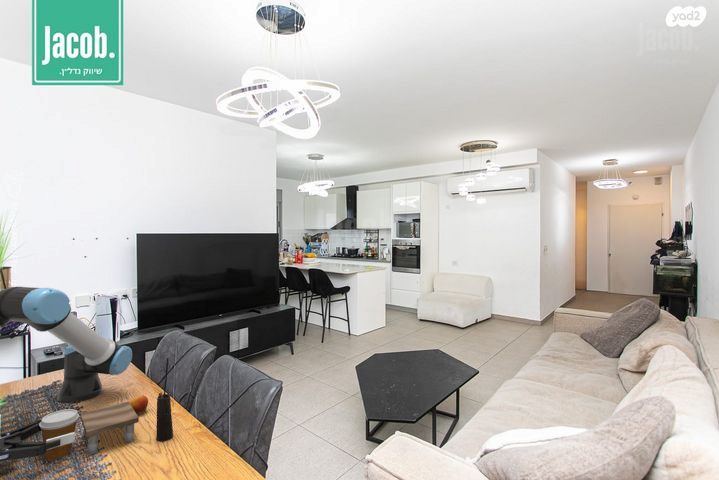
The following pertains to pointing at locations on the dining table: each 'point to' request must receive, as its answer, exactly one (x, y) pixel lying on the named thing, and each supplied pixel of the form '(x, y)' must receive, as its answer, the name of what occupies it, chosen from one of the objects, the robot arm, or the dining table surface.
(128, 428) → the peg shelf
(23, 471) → the dining table surface
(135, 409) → the fruit
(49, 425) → the disposable coffee cup
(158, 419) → the butter churn
